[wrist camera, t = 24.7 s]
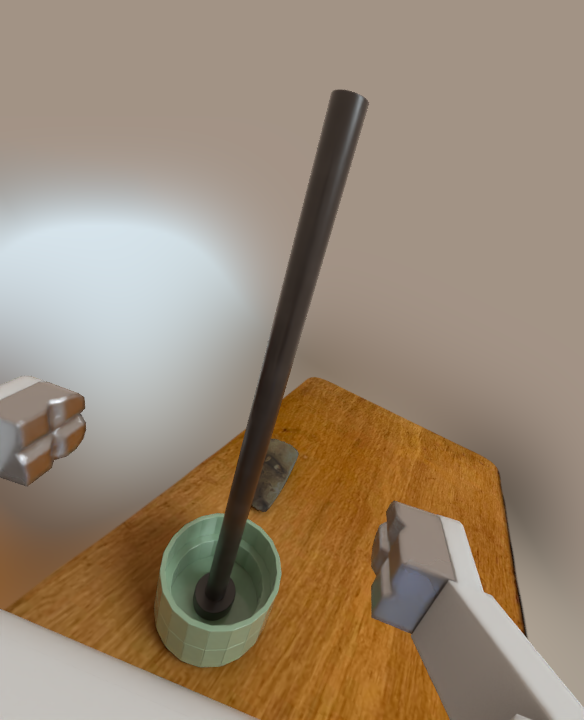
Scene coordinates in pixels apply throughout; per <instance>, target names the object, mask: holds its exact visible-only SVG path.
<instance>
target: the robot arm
mask: <svg viewBox="0 0 584 720" xmlns="http://www.w3.org/2000/svg"><path fill="white" fill-rule="evenodd" d="M84 409H85V400H84V397H83V396H82V395H80V394H79V393H76V392H74V391H71V390H68V389H65V388H62V387H60V386H57V385H54V384H52V383H49V382H45V381H42V380H40V379H37V378H34V377H32V376H21V377H18V378H16V379H14V380H11V381H9V382H7V383H4V384H2V385H0V477H1V478H3V479H7V480H9V481H12V482H15V483H18V484H21V485H24V486H28V485H30V484H31V483H33V482H34V481H35V480H36V479H38V478H39V477H40V476H42V475H43V474H44V473H46V472H47V471H48V470H50V469H51V468H52V465H53V462H54V460H56V459H59V458H63V457H66V456H68V455H69V454H70V453H72V452H73V451H74V450H75V449H77V447H78V445H79V444H80V443H81V441H82V440H83V438H84V434H85V431H86V422H85V420H84V419H83V417H82V415H81V414H80V413H81V412H82V411H83V410H84ZM386 516H387V522H385V523H383V524H381V525H380V526H379V528H378V530H377V533H376V535H375V539H374V543H373V547H372V556H371V567H372V569H373V571H374V572H375V574H376V578H375V580H374V582H373V584H372V586H371V600H372V618H374V619H377V620H379V621H382V622H384V623H386V624H389V625H391V626H394V627H396V628H399V629H401V630H403V631H406V632H408V633H411V634H412V635H411V637H412V640H413V642H414V644H415V646H416V648H417V650H418V652H419V654H420V657H421V659H422V661H423V663H424V665H425V667H426V669H427V671H428V674H429V676H430V678H431V680H432V682H433V684H434V686H435V688H436V691H437V693H438V695H439V697H440V699H441V701H442V703H443V705H444V707H445V710H446V712H447V714H448V716H449V718H450V720H584V708H583V706H582V705H581V704H580V703H579V701H578V700H577V699H576V698H575V696H574V695H573V694H572V693H571V692H570V690H569V689H568V688H567V687H566V685H564V683H563V682H562V681H561V679H560V678H559V677H558V676H557V675H556V673H555V672H554V671H553V670H552V669H551V667H550V666H549V665H548V664H547V662H546V661H545V660H544V659H543V657H542V656H541V655H540V654H539V653H538V652H537V650H536V649H535V648H534V647H533V645H532V644H531V643H530V642H529V640H528V639H527V638H526V637H525V636H524V634H523V633H522V632H521V631H520V629H519V628H518V627H517V626H516V625H515V623H514V622H513V621H512V620H511V618H510V617H509V616H508V615H507V614H506V612H505V611H504V610H503V609H502V608H501V606H500V605H499V604H498V603H497V601H496V600H495V599H494V598H493V597H492V595H489V594H487V593H484V591H483V588H482V585H481V581H480V578H479V575H478V572H477V569H476V566H475V562H474V559H473V556H472V553H471V550H470V547H469V543H468V540H467V537H466V534H465V531H464V528H463V525H462V524H461V523H460V522H459V521H456V520H453V519H450V518H447V517H444V516H441V515H435V514H433V513H430V512H427V511H424V510H421V509H418V508H415V507H412V506H409V505H406V504H403V503H400V502H397V501H393V502H392V503H391V504H390V506H389V508H388V509H387V511H386ZM0 720H259V719H257V718H255V717H252V716H250V715H248V714H245V713H243V712H241V711H238V710H236V709H234V708H231V707H229V706H227V705H224V704H222V703H220V702H217V701H215V700H213V699H210V698H208V697H206V696H203V695H201V694H199V693H196V692H194V691H192V690H189V689H187V688H185V687H182V686H180V685H178V684H175V683H173V682H171V681H168V680H166V679H164V678H161V677H159V676H156V675H154V674H152V673H149V672H147V671H145V670H142V669H140V668H138V667H135V666H133V665H131V664H128V663H126V662H124V661H121V660H119V659H117V658H114V657H112V656H110V655H107V654H105V653H103V652H100V651H98V650H96V649H93V648H91V647H89V646H86V645H84V644H82V643H79V642H77V641H75V640H72V639H70V638H67V637H65V636H63V635H60V634H58V633H56V632H53V631H51V630H49V629H46V628H44V627H42V626H39V625H37V624H35V623H32V622H30V621H28V620H25V619H23V618H21V617H18V616H16V615H14V614H11V613H9V612H7V611H4V610H2V609H0Z"/></svg>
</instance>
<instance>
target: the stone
mask: <svg viewBox="0 0 584 720" xmlns="http://www.w3.org/2000/svg"><path fill="white" fill-rule="evenodd" d="M298 455H299V454H298V452H297V450H296V449H295V448H294V447H292V446H291V445H289V444H287V443H285V442H282V441H279V440H277V439H271V440H270V443H269V446H268V450H267V453H266V457H265V460H264V464H263V467H262V470H261V474H260V477H259V481H258V484H257V487H256V491H255V494H254V498H253V501H252V504H251V506H253V507H255V508H256V509H257V510H261V511H262V512H266V511H267V510H268V509H269V508H270V506H271V505H272V504H273V502H274V501H275V499H276V498H277V496H278V495H279V493H280V492H281V490H282V488H283V486H284V485H285V483H286V481H287V479H288V477H289V475H290V473H291V471H292V469H293V466H294V464H295V462H296V460H297V457H298Z"/></svg>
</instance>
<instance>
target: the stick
mask: <svg viewBox="0 0 584 720" xmlns="http://www.w3.org/2000/svg"><path fill="white" fill-rule="evenodd" d="M368 105H369V102H368V100H367V99H366V98H364V97H363V96H361V95H359V94H357V93H355V92H352V91H347V90H334V91H333V92H332V93H331V96H330V100H329V104H328V108H327V112H326V117H325V120H324V124H323V128H322V132H321V136H320V140H319V144H318V148H317V152H316V156H315V160H314V164H313V168H312V171H311V176H310V179H309V183H308V188H307V191H306V195H305V199H304V203H303V207H302V211H301V215H300V219H299V223H298V227H297V231H296V235H295V238H294V242H293V246H292V250H291V254H290V259H289V262H288V267H287V270H286V274H285V278H284V282H283V286H282V290H281V294H280V298H279V302H278V306H277V309H276V313H275V317H274V321H273V326H272V329H271V334H270V337H269V341H268V345H267V349H266V353H265V357H264V361H263V365H262V369H261V373H260V377H259V380H258V385H257V388H256V392H255V396H254V400H253V404H252V408H251V412H250V416H249V420H248V424H247V428H246V432H245V436H244V440H243V443H242V447H241V451H240V455H239V459H238V463H237V467H236V471H235V475H234V479H233V483H232V487H231V491H230V495H229V499H228V503H227V507H226V511H225V514H224V518H223V522H222V526H221V530H220V534H219V538H218V542H217V546H216V550H215V554H214V558H213V562H212V566H211V570H210V572H209V573H207V574H205V575H204V576H202V577H201V578H200V580H199V581H198V583H197V585H196V587H195V592H194V596H193V606H194V609H195V611H196V613H197V614H198V615H199V616H200V617H201V618H203V619H205V620H208V621H216V620H219V619H221V618H223V617H224V616H226V615H227V614H228V612H229V611H230V609H231V607H232V605H233V602H234V598H235V594H236V589H235V584H234V582H233V580H232V579H231V577H230V576H231V573H232V569H233V566H234V562H235V559H236V556H237V552H238V549H239V545H240V542H241V539H242V535H243V532H244V528H245V525H246V521H247V518H248V515H249V511H250V508H251V504H252V501H253V498H254V494H255V491H256V487H257V484H258V481H259V477H260V474H261V470H262V467H263V464H264V460H265V457H266V453H267V450H268V446H269V443H270V440H271V436H272V433H273V429H274V426H275V423H276V419H277V416H278V412H279V409H280V406H281V402H282V399H283V395H284V392H285V388H286V385H287V381H288V378H289V375H290V371H291V368H292V364H293V361H294V358H295V354H296V351H297V347H298V344H299V340H300V337H301V334H302V330H303V327H304V323H305V320H306V317H307V313H308V310H309V306H310V303H311V300H312V296H313V292H314V289H315V286H316V283H317V279H318V276H319V272H320V269H321V266H322V262H323V259H324V255H325V252H326V248H327V245H328V242H329V238H330V235H331V231H332V228H333V225H334V221H335V218H336V214H337V211H338V207H339V204H340V201H341V197H342V194H343V191H344V187H345V184H346V180H347V177H348V173H349V170H350V167H351V163H352V160H353V156H354V153H355V150H356V146H357V143H358V139H359V136H360V133H361V129H362V126H363V122H364V119H365V116H366V112H367V109H368Z"/></svg>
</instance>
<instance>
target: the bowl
mask: <svg viewBox="0 0 584 720" xmlns="http://www.w3.org/2000/svg"><path fill="white" fill-rule="evenodd" d="M223 518H224V514H221V513H216V514H211V515H206V516H202V517H199V518H197V519H195V520H193V521H191V522H189V523H187V524H186V525H185V526H184V527H182V528H181V529H180V530H179V531H178V532H177V533H176V534H175V535H174V536H173V537H172V539H171V541H170V542H169V544H168V546H167V547H166V549H165V551H164V553H163V558H162V562H161V567H160V572H159V578H158V585H157V591H156V597H155V603H154V614H155V623H156V627H157V631H158V633H159V635H160V637H161V639H162V641H163V643H164V645H165V646H166V648H167V649H169V650H170V651H171V652H172V653H173V654H174V655H175V656H176V657H177V658H178V659H180V660H181V661H183V662H186V663H188V664H191V665H194V666H197V667H219V666H223V665H225V664H227V663H230V662H232V661H234V660H237V659H239V658H240V657H241V656H242V655H243V654H244V653H246V652H247V651H248V650H249V649H250V648H251V647H252V646H253V645H254V644H255V643H256V641H257V639H258V637H259V635H260V634H261V632H262V630H263V628H264V626H265V624H266V621H267V619H268V616H269V613H270V611H271V608H272V606H273V603H274V601H275V598H276V596H277V593H278V589H279V584H280V579H281V566H280V557H279V554H278V552H277V550H276V548H275V545H274V543H273V541H272V540H271V538H270V537H269V536H268V535H267V534H266V533H265V531H264V530H263V529H262V528H261V527H259V526H258V525H256V524H255V523H253V522H252V521H250V520H249V519H247V521H246V525H245V528H244V532H243V535H242V539H241V542H240V545H239V549H238V552H237V556H236V559H235V562H234V566H233V569H232V573H231V576H230V577H231V579H232V580H233V582H234V584H235V589H236V594H235V598H234V602H233V605H232V607H231V609H230V611H229V612H228V614H227V615H226V616H224V617H223V618H221V619H219V620H216V621H208V620H205V619H203V618H201V617H200V616H199V615H198V614H197V613H196V611H195V609H194V606H193V596H194V592H195V587H196V585H197V583H198V581H199V580H200V578H201V577H202V576H204V575H205V574H207V573H209V572H210V570H211V566H212V562H213V558H214V554H215V550H216V546H217V542H218V538H219V534H220V530H221V526H222V522H223Z"/></svg>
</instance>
